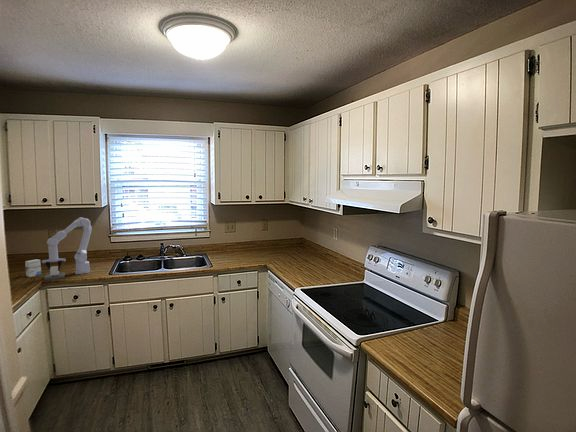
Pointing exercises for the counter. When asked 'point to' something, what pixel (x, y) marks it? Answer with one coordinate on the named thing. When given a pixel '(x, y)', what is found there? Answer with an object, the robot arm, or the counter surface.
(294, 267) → the counter surface
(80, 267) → the robot arm
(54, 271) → the block
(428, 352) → the counter surface
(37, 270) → the ink box
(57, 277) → the stand
